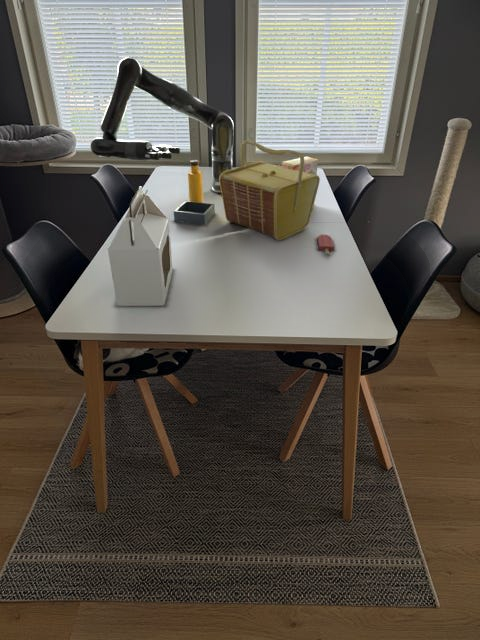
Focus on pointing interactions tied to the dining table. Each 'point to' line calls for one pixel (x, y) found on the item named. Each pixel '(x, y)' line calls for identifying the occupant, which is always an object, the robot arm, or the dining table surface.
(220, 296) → the dining table surface
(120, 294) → the gable box
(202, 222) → the tub
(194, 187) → the bottle
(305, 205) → the picnic basket
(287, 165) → the coffeecake box
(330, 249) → the popsicle
